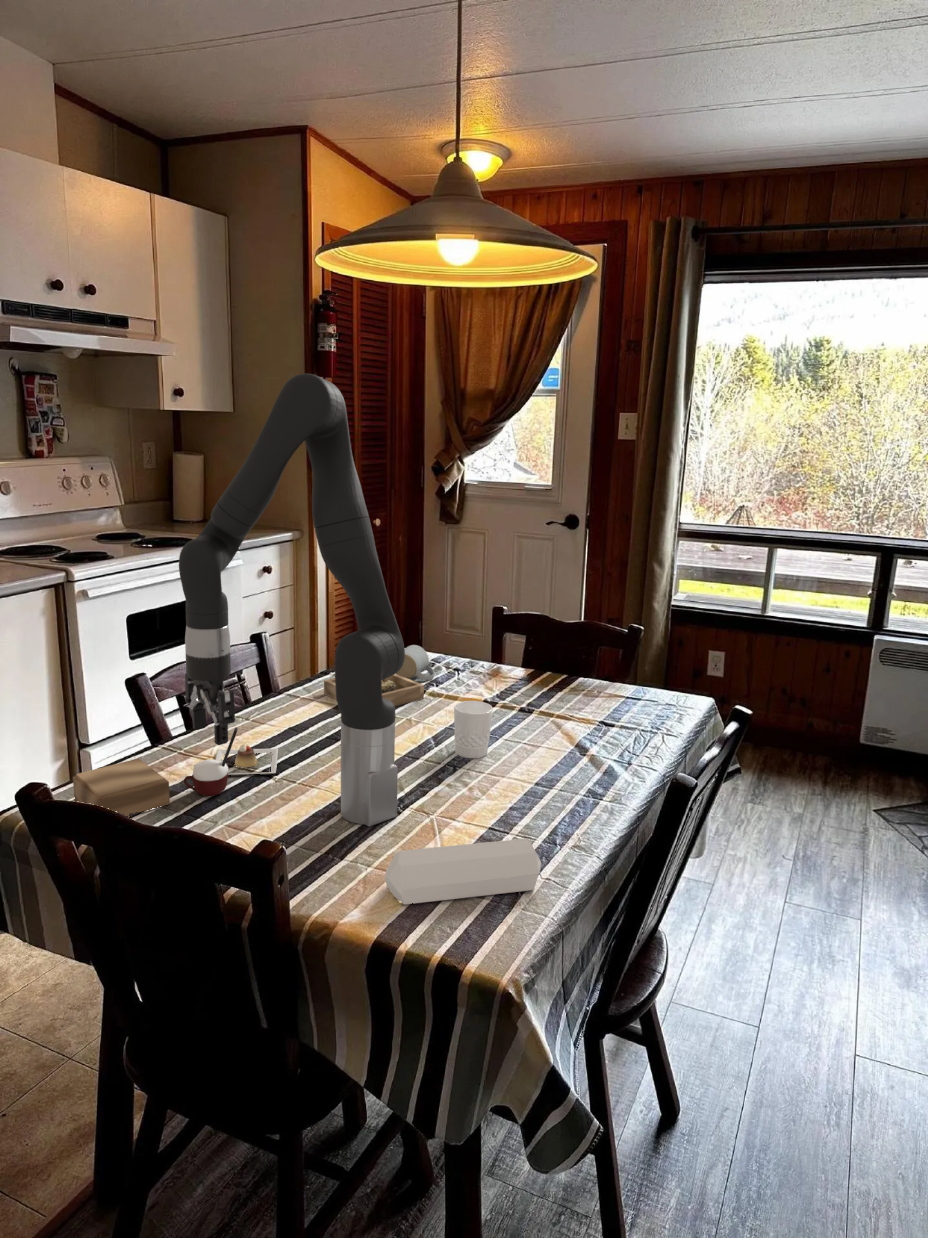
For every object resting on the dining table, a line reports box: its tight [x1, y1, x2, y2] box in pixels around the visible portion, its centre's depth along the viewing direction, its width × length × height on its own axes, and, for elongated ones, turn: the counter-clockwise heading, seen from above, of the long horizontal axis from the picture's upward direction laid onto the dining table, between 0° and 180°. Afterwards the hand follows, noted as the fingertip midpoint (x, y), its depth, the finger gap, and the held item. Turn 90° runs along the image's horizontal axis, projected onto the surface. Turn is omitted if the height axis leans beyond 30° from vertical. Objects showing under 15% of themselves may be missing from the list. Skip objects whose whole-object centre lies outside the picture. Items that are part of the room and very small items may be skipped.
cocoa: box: [183, 727, 238, 797], centre depth 151 cm, size 10×6×12 cm, turn 80°
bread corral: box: [323, 674, 425, 707], centre depth 206 cm, size 17×17×4 cm
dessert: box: [214, 742, 279, 776], centre depth 165 cm, size 12×12×5 cm
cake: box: [382, 680, 396, 693], centre depth 208 cm, size 10×10×5 cm
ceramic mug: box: [396, 644, 436, 681], centre depth 222 cm, size 11×8×8 cm
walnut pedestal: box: [72, 758, 171, 818], centre depth 147 cm, size 12×12×5 cm
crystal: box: [384, 838, 542, 905], centre depth 125 cm, size 7×7×24 cm
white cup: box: [453, 700, 493, 759], centre depth 174 cm, size 8×8×10 cm
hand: (210, 736), depth 151 cm, fingers open, 8 cm apart
